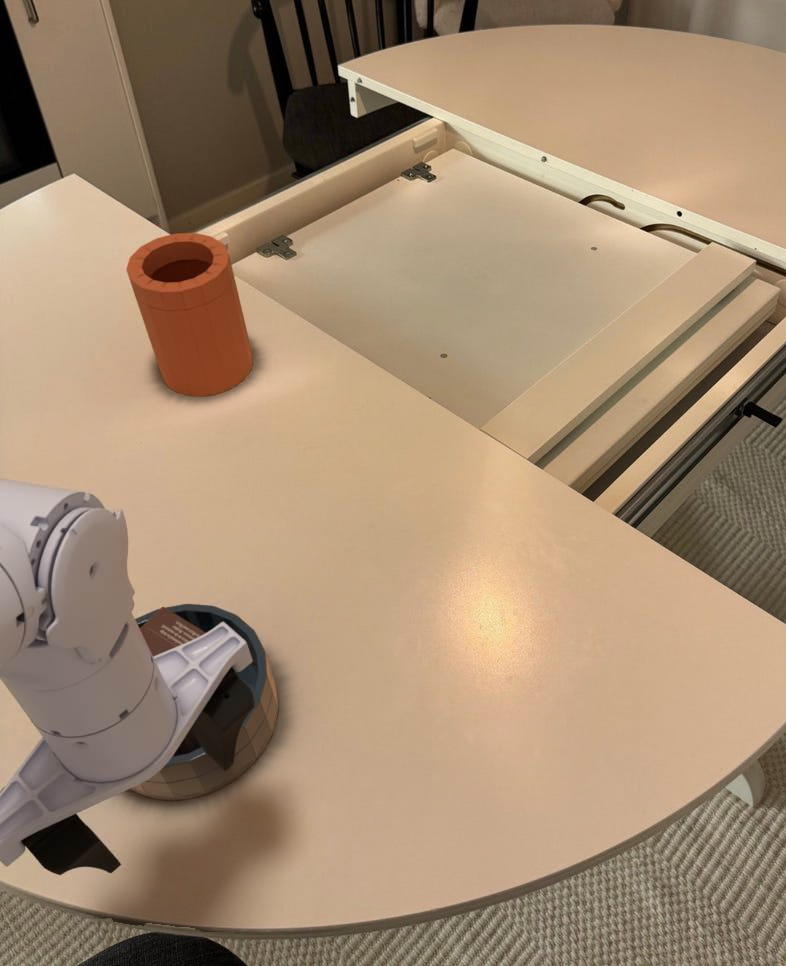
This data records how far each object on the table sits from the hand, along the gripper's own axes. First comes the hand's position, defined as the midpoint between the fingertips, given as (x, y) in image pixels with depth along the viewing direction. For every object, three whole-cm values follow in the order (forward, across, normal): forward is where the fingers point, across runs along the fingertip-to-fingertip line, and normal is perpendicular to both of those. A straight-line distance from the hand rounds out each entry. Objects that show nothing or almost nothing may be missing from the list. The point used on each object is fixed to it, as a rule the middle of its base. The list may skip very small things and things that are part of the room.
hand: (164, 805), depth 53 cm
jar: (+9, -30, -38) cm, 49 cm away
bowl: (+9, -6, -9) cm, 14 cm away
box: (+9, -6, -9) cm, 14 cm away
